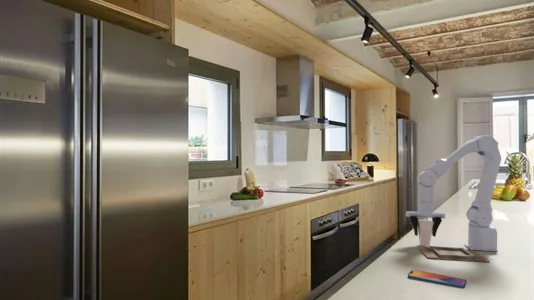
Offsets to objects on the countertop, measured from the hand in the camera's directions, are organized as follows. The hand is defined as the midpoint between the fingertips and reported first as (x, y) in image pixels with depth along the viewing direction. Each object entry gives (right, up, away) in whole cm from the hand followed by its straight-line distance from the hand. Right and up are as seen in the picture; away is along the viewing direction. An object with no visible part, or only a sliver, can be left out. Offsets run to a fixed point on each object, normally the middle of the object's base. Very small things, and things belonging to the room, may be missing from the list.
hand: (424, 235), depth 152 cm
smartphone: (-14, -4, -41) cm, 43 cm away
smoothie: (0, -4, 0) cm, 4 cm away
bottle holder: (+4, -4, -14) cm, 15 cm away
